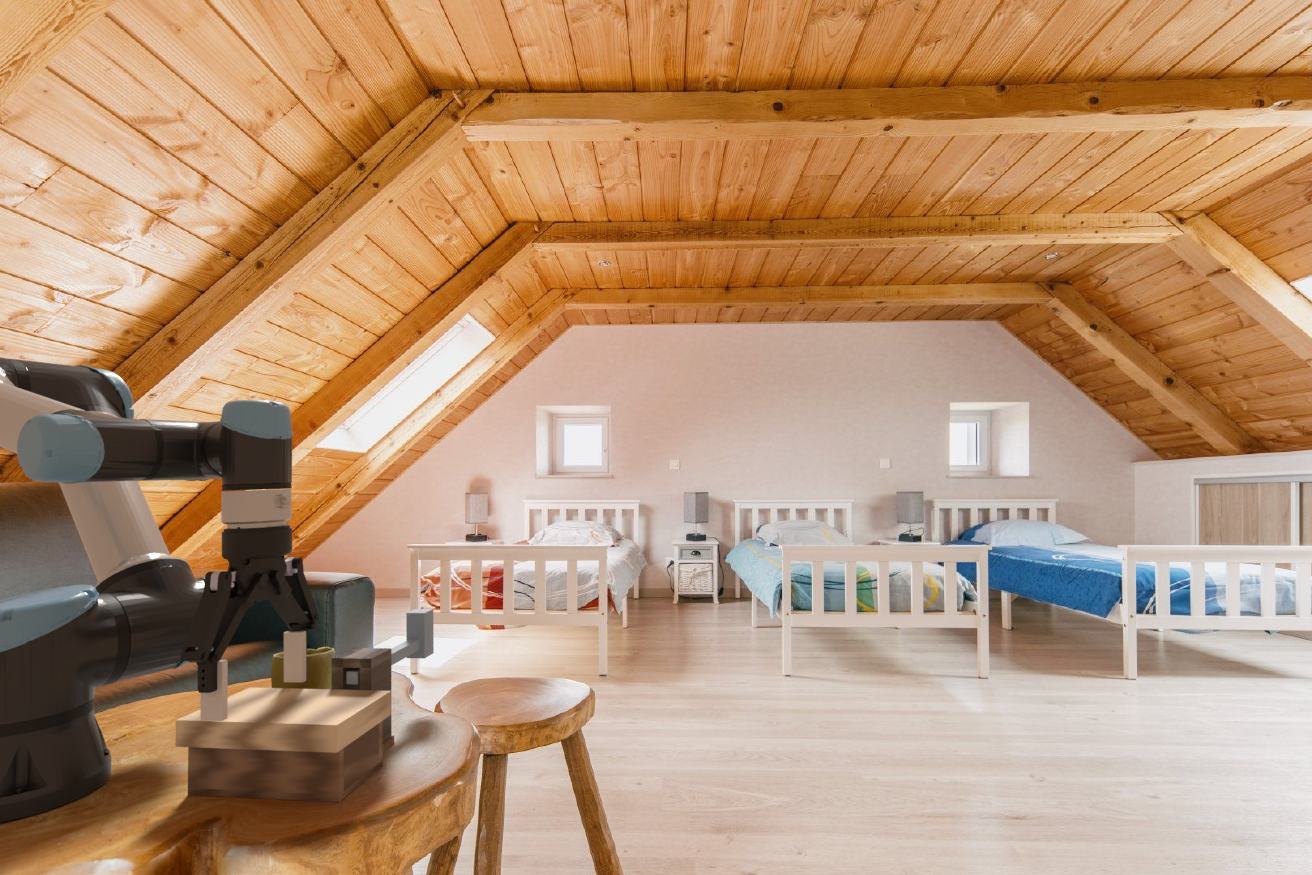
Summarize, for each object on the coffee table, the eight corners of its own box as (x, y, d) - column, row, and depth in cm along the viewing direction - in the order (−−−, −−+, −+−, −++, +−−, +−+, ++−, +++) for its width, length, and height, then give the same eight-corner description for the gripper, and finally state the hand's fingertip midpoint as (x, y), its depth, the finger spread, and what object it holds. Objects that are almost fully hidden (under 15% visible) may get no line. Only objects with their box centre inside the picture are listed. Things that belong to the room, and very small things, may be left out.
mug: (311, 703, 102) (304, 638, 105) (256, 721, 103) (251, 656, 106) (365, 693, 113) (357, 634, 116) (315, 709, 115) (308, 651, 118)
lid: (175, 759, 76) (175, 720, 76) (249, 721, 87) (249, 687, 88) (336, 766, 73) (336, 725, 74) (391, 726, 85) (391, 690, 85)
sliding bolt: (341, 694, 87) (341, 640, 87) (415, 652, 107) (415, 608, 107) (362, 695, 87) (362, 641, 87) (433, 653, 106) (433, 609, 107)
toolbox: (187, 794, 77) (189, 683, 78) (282, 739, 93) (283, 646, 93) (339, 802, 75) (339, 686, 75) (410, 743, 90) (409, 648, 91)
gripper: (204, 533, 69) (203, 740, 68) (345, 517, 94) (346, 668, 93) (140, 535, 70) (138, 739, 69) (296, 518, 95) (297, 668, 94)
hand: (257, 699), depth 81 cm, fingers open, 13 cm apart
